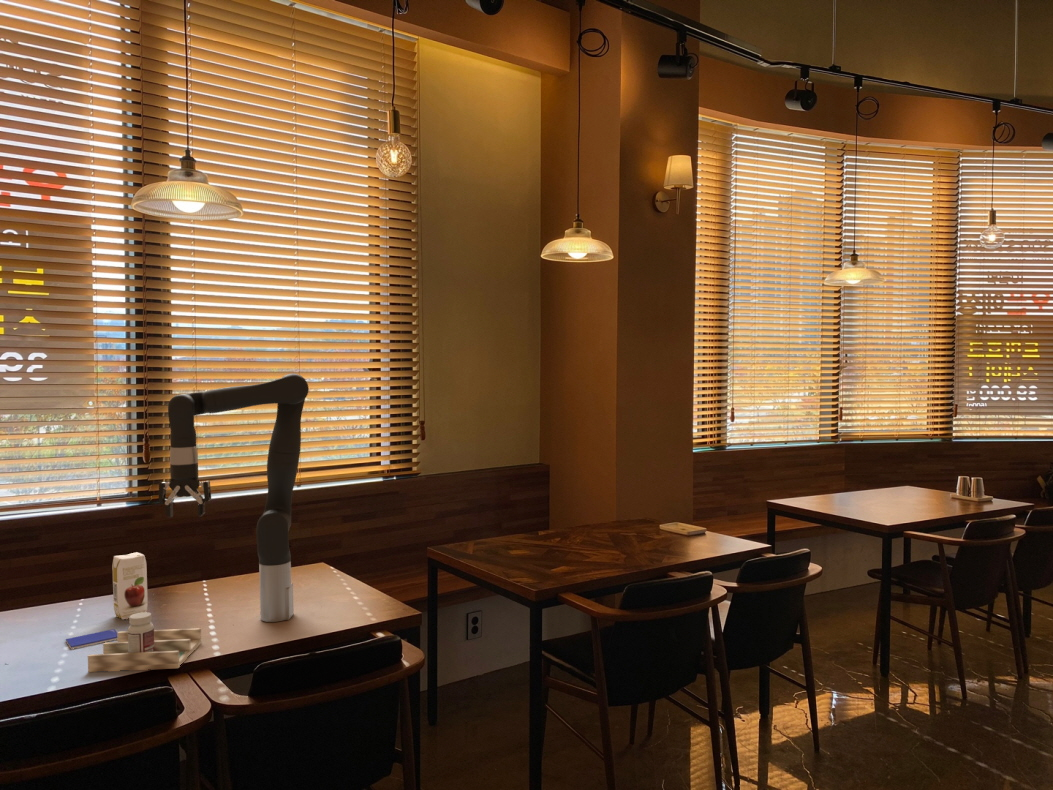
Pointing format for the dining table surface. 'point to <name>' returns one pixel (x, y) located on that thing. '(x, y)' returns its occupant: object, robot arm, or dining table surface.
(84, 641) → the hard drive
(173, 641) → the slot rack
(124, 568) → the juice carton
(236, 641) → the dining table surface
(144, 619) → the pill bottle
